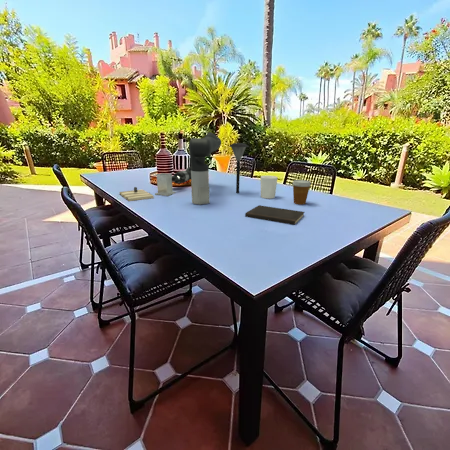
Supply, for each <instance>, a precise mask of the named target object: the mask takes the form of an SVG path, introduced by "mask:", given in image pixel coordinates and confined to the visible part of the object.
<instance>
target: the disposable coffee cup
mask: <svg viewBox="0 0 450 450" xmlns="http://www.w3.org/2000/svg"><path fill="white" fill-rule="evenodd" d="M311 185H312V184H311V181H310V180H305V179H295V180H294V179H293V181H292V187H293V188H292V190H293V204H295V205H300V206H301V205H306V203H307V198H308V195H309V192H310V187H311Z"/></svg>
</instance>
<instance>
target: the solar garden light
mask: <svg viewBox="0 0 450 450" xmlns="http://www.w3.org/2000/svg"><path fill="white" fill-rule="evenodd" d="M228 147H229V148H230V147H231V149H232V152H233V155H234V157H235V159H236V177H235V178H236V179H235V180H236V183H235V185H236V186H235V187H236V188H235V191H236V192H235V193H236V194H240V176H241V175H240V170H241V169H240V168H241V167H240V166H241V159H242V157H243V155H244V153H245V150H246V148H249V147H250V146H249V145H248V144H246V143H243V142H241V143H239V142H234V143H232V144H230V145H229V146H228Z"/></svg>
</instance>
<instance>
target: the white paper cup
mask: <svg viewBox="0 0 450 450" xmlns="http://www.w3.org/2000/svg"><path fill="white" fill-rule="evenodd" d="M277 185H278V176H276V175H261V176H260V198H262V199H266V200H267V199H268V200H270V199H275V198H276V192H277Z"/></svg>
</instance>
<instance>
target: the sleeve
mask: <svg viewBox="0 0 450 450" xmlns="http://www.w3.org/2000/svg"><path fill="white" fill-rule="evenodd" d="M172 176H173V175H172V173H167V172H165V173H163V172H161V173H158V174H156V185H157V187H156V188H157V192H155V193H154V195H156V196H164V197H169V196H171V195H174V194H175V193H176V191H173V182H172Z"/></svg>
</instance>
